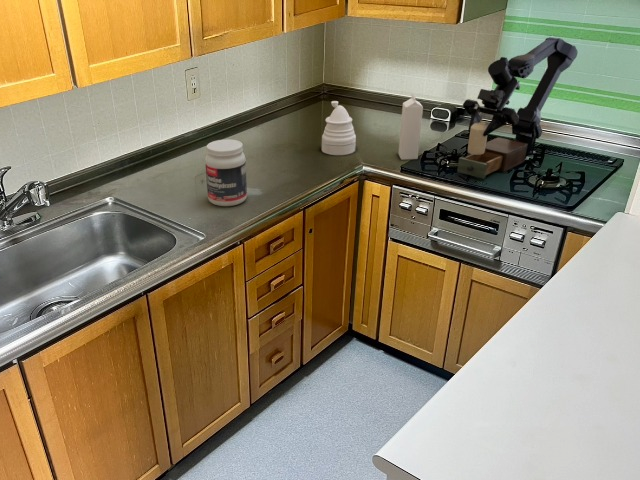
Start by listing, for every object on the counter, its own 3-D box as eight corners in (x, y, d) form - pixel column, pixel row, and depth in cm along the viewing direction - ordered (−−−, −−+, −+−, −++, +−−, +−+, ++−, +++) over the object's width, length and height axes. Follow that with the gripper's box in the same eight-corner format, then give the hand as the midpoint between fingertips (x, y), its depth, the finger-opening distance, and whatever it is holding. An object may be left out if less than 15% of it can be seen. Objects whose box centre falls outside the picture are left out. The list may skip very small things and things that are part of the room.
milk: (401, 159, 228) (406, 98, 216) (398, 154, 233) (403, 93, 221) (418, 159, 227) (424, 97, 216) (414, 153, 233) (420, 93, 221)
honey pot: (318, 154, 237) (319, 106, 228) (325, 143, 248) (326, 97, 238) (352, 156, 234) (354, 107, 224) (357, 145, 244) (360, 98, 234)
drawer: (481, 179, 206) (483, 165, 203) (455, 172, 212) (456, 158, 210) (503, 168, 213) (506, 155, 210) (477, 162, 219) (479, 148, 217)
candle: (479, 148, 214) (483, 119, 209) (487, 153, 209) (492, 124, 204) (464, 150, 213) (468, 121, 208) (472, 155, 209) (476, 126, 203)
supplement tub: (204, 207, 199) (200, 151, 190) (211, 192, 210) (207, 138, 200) (244, 208, 197) (242, 151, 188) (249, 192, 208) (247, 138, 199)
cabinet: (503, 172, 212) (507, 153, 209) (474, 164, 220) (477, 146, 216) (524, 162, 220) (528, 143, 216) (495, 155, 227) (498, 137, 224)
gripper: (469, 74, 207) (443, 114, 208) (520, 83, 194) (492, 126, 195) (481, 93, 215) (456, 132, 216) (530, 103, 202) (503, 145, 203)
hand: (476, 133), depth 207 cm, fingers closed on candle, 5 cm apart
